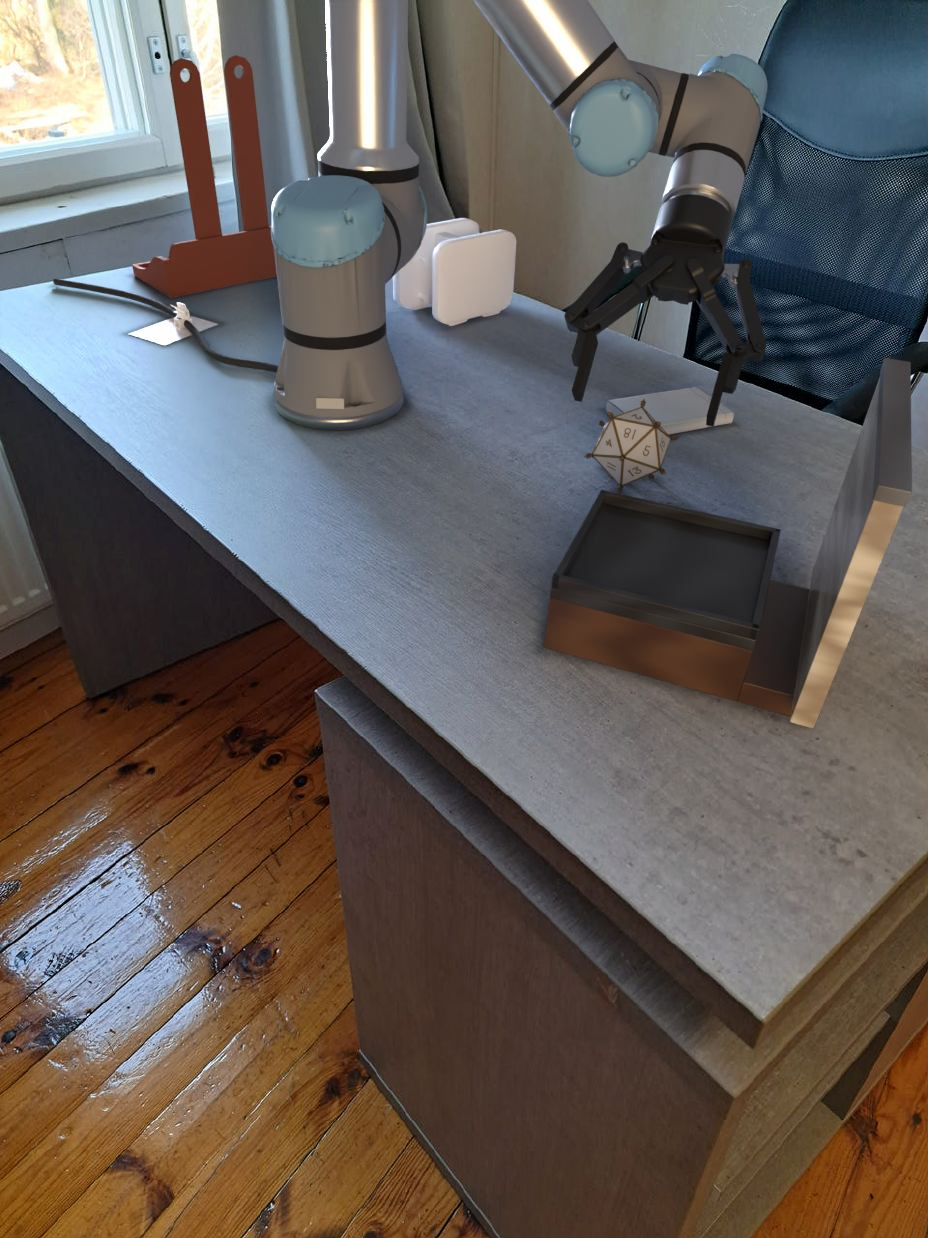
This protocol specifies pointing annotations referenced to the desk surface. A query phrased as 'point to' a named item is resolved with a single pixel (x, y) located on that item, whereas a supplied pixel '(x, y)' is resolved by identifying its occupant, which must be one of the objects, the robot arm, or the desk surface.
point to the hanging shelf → (211, 252)
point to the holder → (735, 581)
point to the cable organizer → (459, 272)
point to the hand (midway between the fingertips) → (641, 408)
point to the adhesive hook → (173, 327)
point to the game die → (631, 446)
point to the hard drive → (674, 409)
